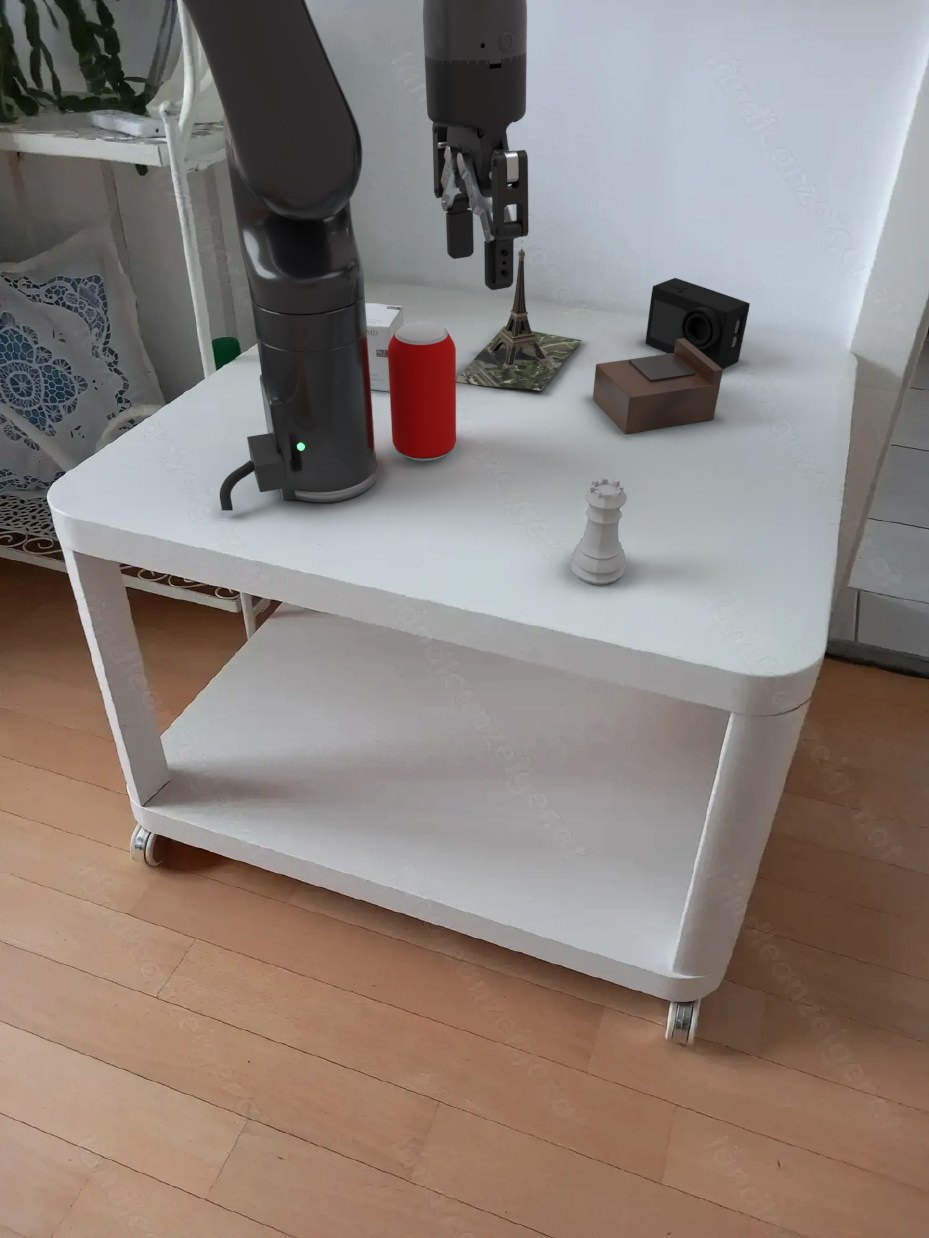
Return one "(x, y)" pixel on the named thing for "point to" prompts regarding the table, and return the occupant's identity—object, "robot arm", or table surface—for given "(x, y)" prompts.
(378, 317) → the product carton
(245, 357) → the table surface
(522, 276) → the eiffel tower figurine
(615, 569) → the rook chess piece
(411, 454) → the beverage can
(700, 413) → the wooden stepped block
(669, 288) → the digital camera
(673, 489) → the table surface
